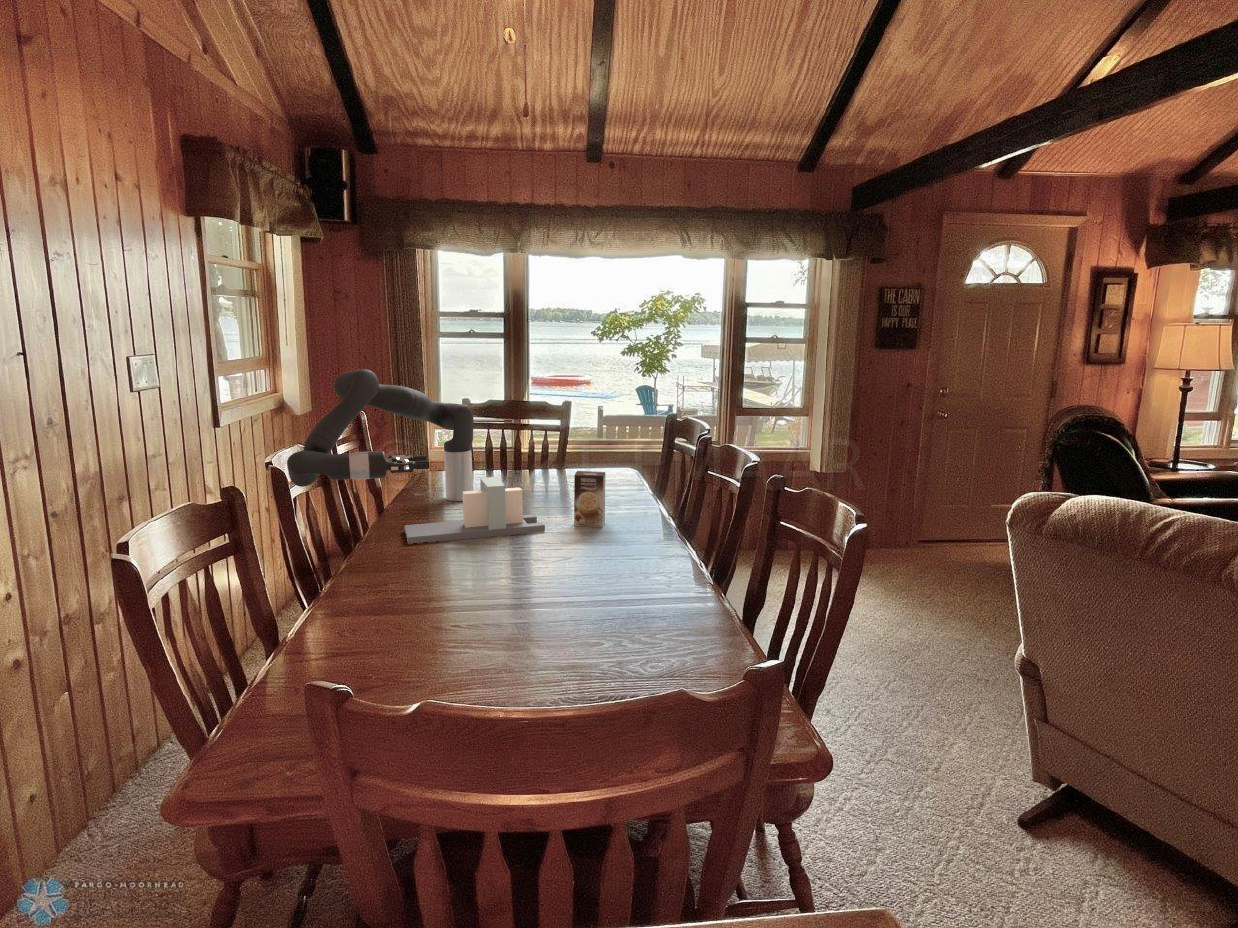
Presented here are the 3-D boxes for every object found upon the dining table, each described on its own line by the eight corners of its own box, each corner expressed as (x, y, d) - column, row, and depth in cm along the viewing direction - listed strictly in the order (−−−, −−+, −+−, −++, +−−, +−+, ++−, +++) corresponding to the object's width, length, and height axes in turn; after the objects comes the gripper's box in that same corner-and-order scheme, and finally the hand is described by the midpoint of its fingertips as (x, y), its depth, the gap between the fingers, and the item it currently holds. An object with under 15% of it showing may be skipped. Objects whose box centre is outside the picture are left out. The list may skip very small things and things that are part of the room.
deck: (404, 531, 213) (404, 525, 212) (534, 520, 226) (534, 514, 226) (408, 544, 201) (407, 537, 200) (544, 531, 214) (544, 525, 214)
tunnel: (481, 518, 220) (480, 478, 217) (497, 517, 222) (496, 476, 219) (488, 529, 208) (487, 486, 206) (506, 528, 210) (505, 485, 208)
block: (463, 524, 214) (462, 491, 212) (520, 519, 219) (519, 487, 218) (465, 527, 210) (464, 494, 209) (522, 522, 216) (522, 489, 214)
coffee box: (573, 526, 220) (572, 474, 217) (576, 521, 226) (576, 470, 223) (603, 527, 219) (603, 475, 216) (605, 521, 225) (605, 471, 222)
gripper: (367, 456, 192) (429, 453, 198) (365, 447, 205) (424, 445, 211) (368, 483, 194) (431, 480, 199) (367, 473, 207) (425, 470, 212)
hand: (427, 462), depth 205 cm, fingers open, 8 cm apart
